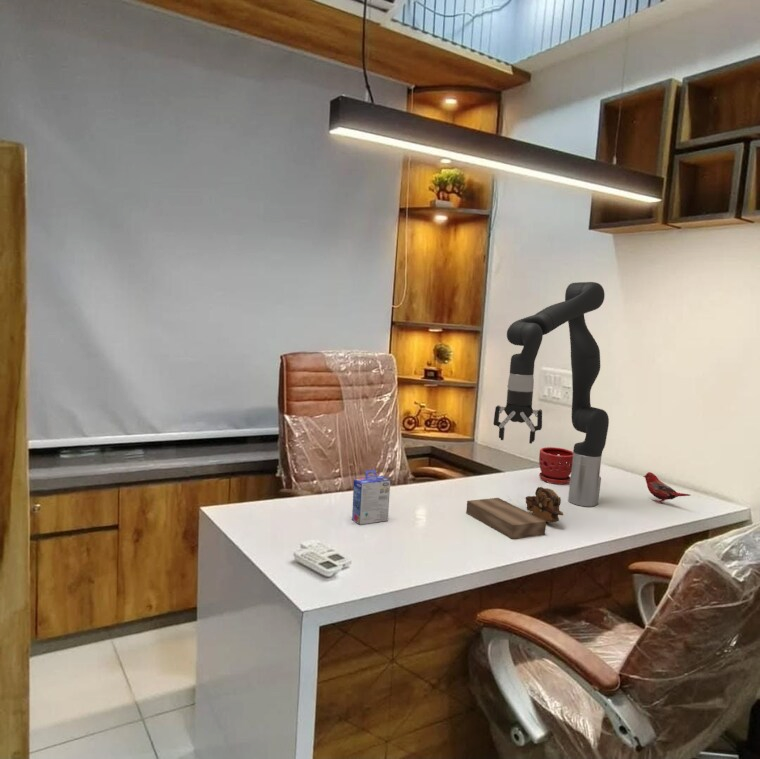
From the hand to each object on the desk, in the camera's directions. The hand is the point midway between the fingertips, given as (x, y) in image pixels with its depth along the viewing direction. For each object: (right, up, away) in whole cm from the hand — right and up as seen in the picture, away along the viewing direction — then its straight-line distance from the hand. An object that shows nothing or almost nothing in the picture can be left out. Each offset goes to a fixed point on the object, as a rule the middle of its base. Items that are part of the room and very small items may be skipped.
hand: (516, 441), depth 182 cm
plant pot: (+26, -21, +49) cm, 60 cm away
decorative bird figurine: (+58, -25, +28) cm, 70 cm away
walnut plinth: (-4, -24, -3) cm, 25 cm away
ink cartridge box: (-45, -22, -8) cm, 50 cm away
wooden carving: (+8, -25, +3) cm, 26 cm away
